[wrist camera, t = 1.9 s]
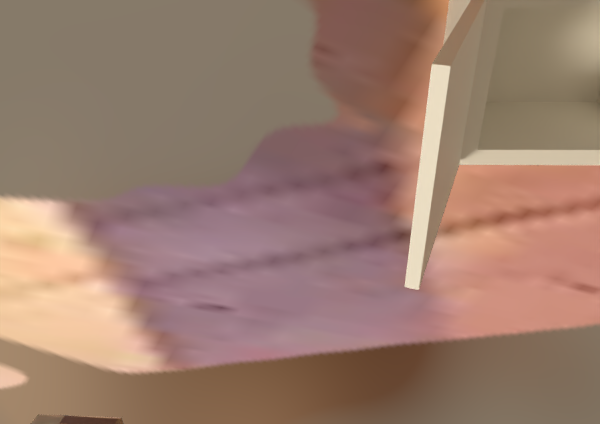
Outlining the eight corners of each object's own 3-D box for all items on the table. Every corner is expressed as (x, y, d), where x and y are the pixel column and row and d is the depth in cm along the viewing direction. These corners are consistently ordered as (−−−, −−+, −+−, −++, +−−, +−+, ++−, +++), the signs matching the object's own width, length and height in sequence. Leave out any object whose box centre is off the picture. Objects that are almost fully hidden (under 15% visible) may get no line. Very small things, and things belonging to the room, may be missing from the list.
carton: (651, -41, 33) (735, -15, 26) (603, 112, 38) (662, 165, 32) (454, -39, 33) (487, -13, 27) (434, 112, 39) (457, 164, 32)
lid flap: (450, 66, 17) (431, 64, 17) (418, 290, 23) (404, 286, 23) (488, -7, 26) (475, -8, 27) (459, 164, 32) (448, 163, 32)
